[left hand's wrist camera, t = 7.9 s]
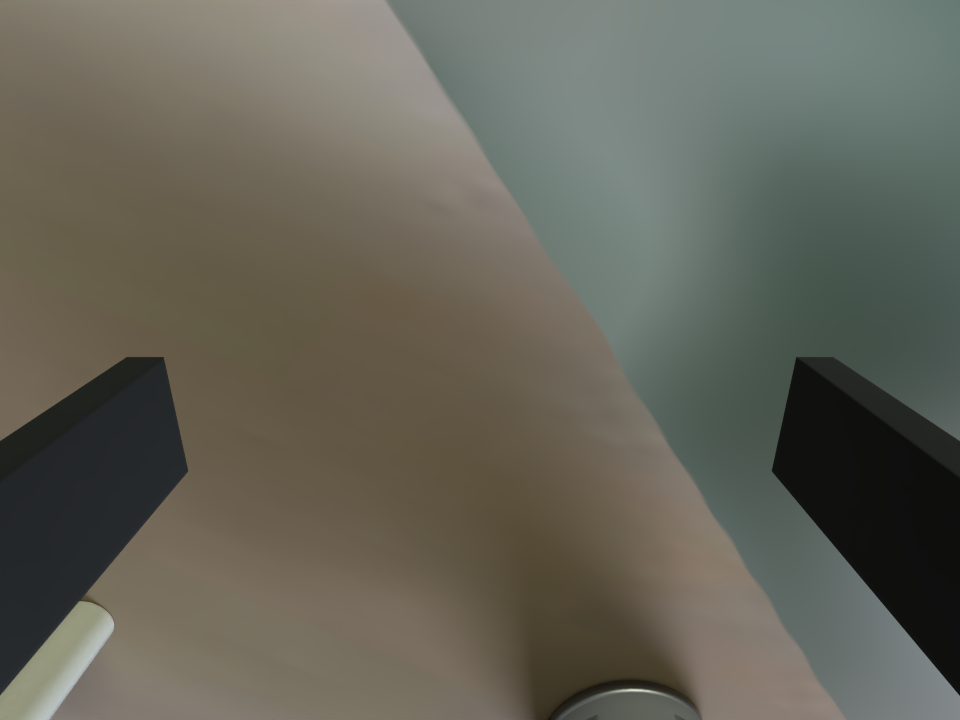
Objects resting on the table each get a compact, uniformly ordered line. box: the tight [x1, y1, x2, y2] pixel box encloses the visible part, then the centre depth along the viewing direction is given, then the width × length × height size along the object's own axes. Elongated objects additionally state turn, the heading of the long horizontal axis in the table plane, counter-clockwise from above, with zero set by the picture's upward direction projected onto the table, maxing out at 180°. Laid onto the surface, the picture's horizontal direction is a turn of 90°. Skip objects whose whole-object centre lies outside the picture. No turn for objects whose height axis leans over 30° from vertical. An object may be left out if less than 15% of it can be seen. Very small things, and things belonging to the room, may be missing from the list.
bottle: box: [0, 601, 114, 720], centre depth 43 cm, size 5×5×18 cm
